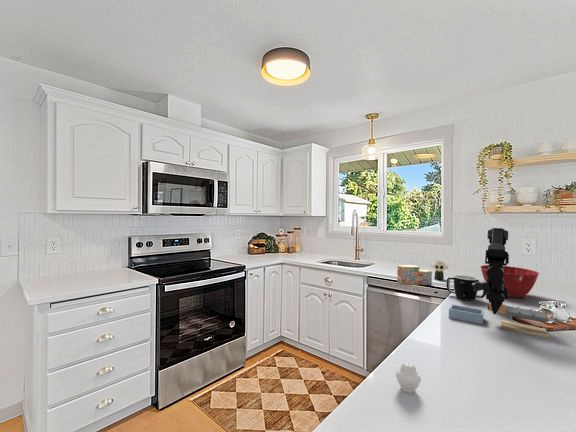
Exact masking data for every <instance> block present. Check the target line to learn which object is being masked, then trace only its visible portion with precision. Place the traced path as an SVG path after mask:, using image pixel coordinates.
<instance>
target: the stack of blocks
mask: <svg viewBox="0 0 576 432" xmlns="http://www.w3.org/2000/svg"><path fill="white" fill-rule="evenodd" d="M396 272H397V275H396V276H397V278H396V279H397V281H396V283H397V284H398V285H401V286H432V281H433V280H432V279H433V276H432V275H433V274H432V273H433V271H432V270H428V269H420V266H418V265H414V264H410V265H408V264H407V265H406V264H405V265H403V264H401V265H399V264H398V265H397V271H396Z"/></svg>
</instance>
